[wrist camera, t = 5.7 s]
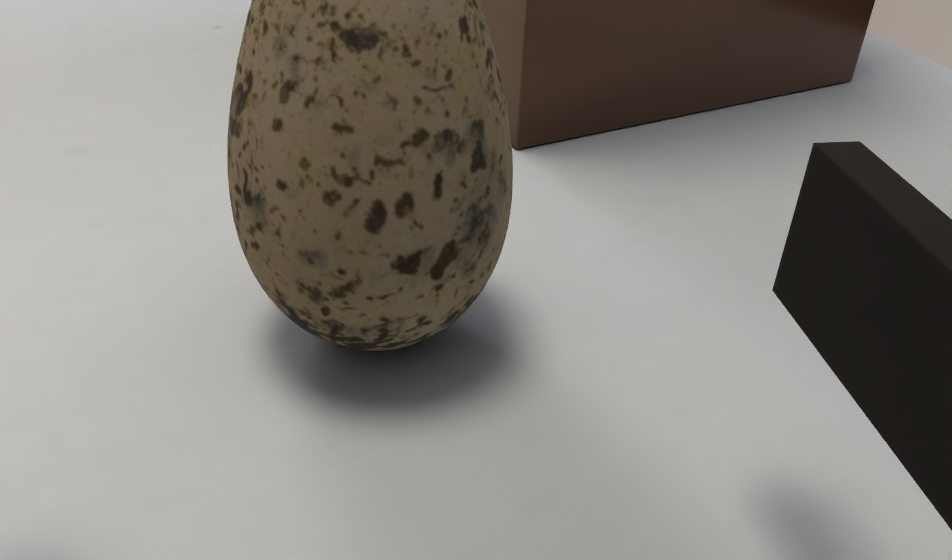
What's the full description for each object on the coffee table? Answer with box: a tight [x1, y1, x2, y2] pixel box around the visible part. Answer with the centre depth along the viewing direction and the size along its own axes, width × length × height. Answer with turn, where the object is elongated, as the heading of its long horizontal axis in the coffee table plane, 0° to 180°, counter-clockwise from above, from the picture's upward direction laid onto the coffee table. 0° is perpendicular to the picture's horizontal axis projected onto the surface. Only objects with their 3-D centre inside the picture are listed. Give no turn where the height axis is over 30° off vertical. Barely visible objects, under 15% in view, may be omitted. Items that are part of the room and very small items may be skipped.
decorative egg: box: [228, 0, 513, 351], centre depth 18 cm, size 6×6×10 cm
